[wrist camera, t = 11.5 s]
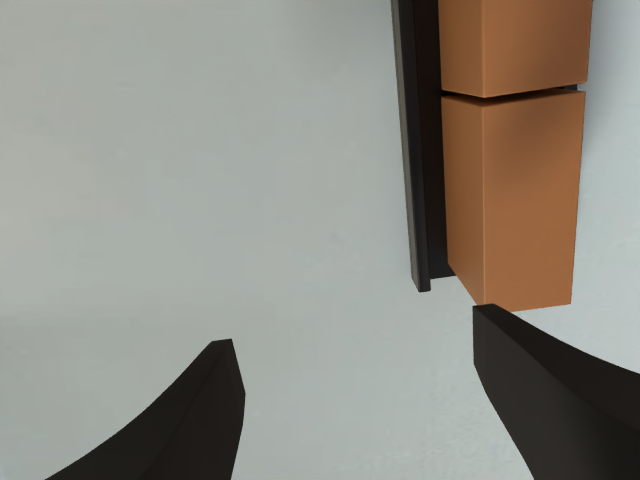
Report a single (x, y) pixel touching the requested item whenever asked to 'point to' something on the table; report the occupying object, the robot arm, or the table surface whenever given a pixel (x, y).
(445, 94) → the rail
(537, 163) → the orange rectangular block
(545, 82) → the brown wooden block
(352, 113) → the table surface
